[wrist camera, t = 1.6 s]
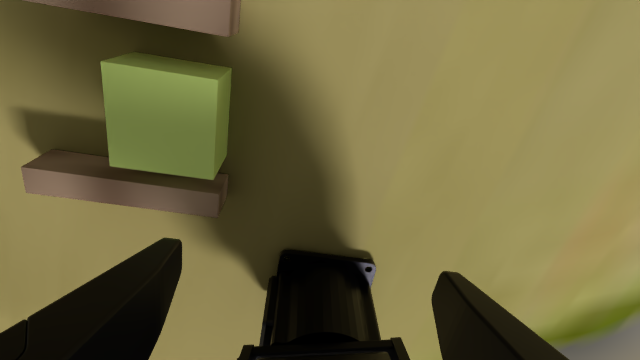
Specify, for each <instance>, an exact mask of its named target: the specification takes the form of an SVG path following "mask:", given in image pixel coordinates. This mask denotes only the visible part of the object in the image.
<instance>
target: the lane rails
mask: <svg viewBox="0 0 640 360" xmlns="http://www.w3.org/2000/svg"><path fill="white" fill-rule="evenodd" d="M24 1H30V2H35V3H41V4H46V5H52V6H58V7H63V8H69V9H75V10H80V11H86V12H91V13H97V14H103V15H108V16H114V17H119V18H125V19H131V20H136V21H142V22H147V23H153V24H159V25H164V26H170V27H175V28H181V29H187V30H192V31H198V32H203V33H209V34H215V35H220V36H226V37H230V36H232V35H234V34H237V33H238V32H239V18H240V4H241V0H24ZM21 170H22V175H23V180H24V185H25V190H26V193H32V194H40V195H47V196H55V197H63V198H70V199H78V200H85V201H93V202H101V203H108V204H116V205H123V206H131V207H139V208H146V209H154V210H161V211H169V212H177V213H184V214H192V215H199V216H207V217H215V218H218V216H219V214H220V211H221V209H222V207H223V204H224V202H225V200H226V197H227V188H228V174H221V173H217V174H216V176H215V178H214V180H208V179H201V178H194V177H186V176H179V175H171V174H164V173H157V172H149V171H142V170H134V169H127V168H119V167H112V166H110V163H109V157H103V156H96V155H89V154H82V153H75V152H68V151H61V150H54V149H52V150H50V151H48V152H46V153H45V154H43V155H41V156H39V157H38V158H36V159H34V160H32V161H31V162H29V163H27V164H25V165H24V166H22V167H21Z"/></svg>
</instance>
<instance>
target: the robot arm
mask: <svg viewBox="0 0 640 360" xmlns="http://www.w3.org/2000/svg"><path fill="white" fill-rule="evenodd" d="M285 256H288V257H290V258H289V259H286V258H284V257H285ZM368 266H370V268H366V267H368ZM181 270H182V242H181V241H180V240H179V239H173V238H163V239H161V240H159V241H157V242H155V243H154V244H152V245H150V246H149V247H147V248H145V249H143V250H142V251H140V252H138V253H137V254H135V255H133V256H132V257H130V258H128V259H126V260H125V261H123V262H121V263H120V264H118V265H116V266H114V267H113V268H111V269H109V270H108V271H106V272H104V273H103V274H101V275H99V276H97V277H96V278H94V279H92V280H91V281H89V282H87V283H85V284H84V285H82V286H80V287H79V288H77V289H75V290H74V291H72V292H70V293H68V294H67V295H65V296H63V297H62V298H60V299H58V300H56V301H55V302H53V303H51V304H50V305H48V306H46V307H45V308H43V309H41V310H39V311H38V312H36V313H34V314H33V315H31V316H29V317H28V318H27V320H22V321H20V322H19V323H17V324H15V325H14V326H12V327H10V328H8V329H7V330H5V331H3V332H1V333H0V360H148V359H149V357H150V355H151V353H152V351H153V349H154V346H155V344H156V342H157V340H158V338H159V335H160V333H161V331H162V328H163V325H164V322H165V319H166V316H167V314H168V311H169V308H170V305H171V302H172V299H173V296H174V293H175V290H176V287H177V284H178V281H179V278H180V275H181ZM375 272H376V266H375V263H374V262H373V261H372V260H368V259H360V258H352V257H344V256H336V255H328V254H320V253H312V252H304V251H296V250H283V251H282V252H281V253H280V257H279V264H278V270H277V276H272V277H271V278H269V283H268V290H267V297H266V303H265V310H264V317H263V323H262V330H261V337H260V344H259V346H254V345H244V346H243V348H242V351H241V354H240V356H239V358H237V360H410V358H409V356H408V353H407V351H406V349H405V346H404V344H403V342H402V339H401V337H395V338H391V339H390V340H381V337H380V332H379V328H378V323H377V318H376V313H375V308H374V304H373V299H372V294H371V289H370V288H371V285H372V282H373V278H374V275H375ZM432 307H433V312H434V318H435V323H436V328H437V334H438V339H439V344H440V349H441V354H442V359H443V360H569V359H568V358H566V357H565V356H564V355H562V354H561V353H560V352H559V351H558V350H556V349H555V348H554V347H552V346H551V345H550V344H549V343H547V342H546V341H545V340H544V339H542V338H541V337H540V336H538V335H537V334H536V333H535V332H533V331H532V330H531V329H530V328H528V327H527V326H526V325H524V324H523V323H522V322H521V321H519V320H518V319H517V318H516V317H514V316H513V315H512V314H510V313H509V312H508V311H507V310H505V309H504V308H503V307H502V306H500V305H499V304H498V303H496V302H495V301H494V300H493V299H491V298H490V297H489V296H488V295H486V294H485V293H484V292H482V291H481V290H480V289H479V288H477V287H476V286H475V285H474V284H472V283H471V282H470V281H468V280H467V279H466V278H465V277H463V276H462V275H461V274H459V273H457V272H450V271H443V272H442V273H441V274H440V276H439V278H438V281H437V284H436V286H435V289H434V291H433V294H432Z"/></svg>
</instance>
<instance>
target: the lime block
mask: <svg viewBox="0 0 640 360" xmlns="http://www.w3.org/2000/svg"><path fill="white" fill-rule="evenodd" d="M100 62H101V73H102V84H103V96H104V107H105V118H106V130H107V141H108V152H109V163H110V166H112V167H119V168H127V169H134V170H142V171H149V172H157V173H164V174H171V175H179V176H186V177H194V178H201V179H208V180H214V178H215V176H216V174H217V172H218V171H219V169H220V167H221V165H222V163H223V161H224V159H225V157H226V156H227V142H228V125H229V109H230V93H231V76H232V68H229V67H223V66H217V65H211V64H205V63H199V62H192V61H186V60H180V59H174V58H168V57H162V56H156V55H150V54H144V53H138V52H131V53H128V54H124V55H121V56H117V57H114V58H110V59H107V60H103V61H100Z"/></svg>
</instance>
